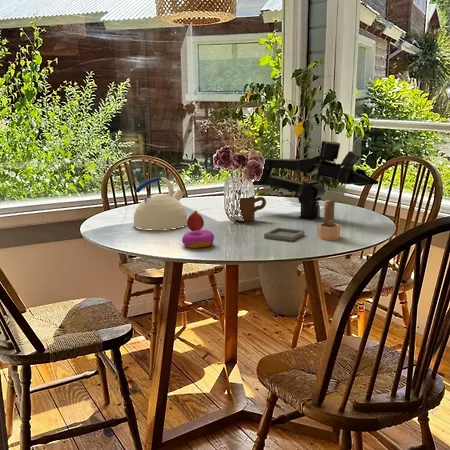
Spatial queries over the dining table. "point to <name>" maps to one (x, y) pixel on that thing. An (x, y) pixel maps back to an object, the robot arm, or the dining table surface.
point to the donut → (198, 239)
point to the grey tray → (284, 234)
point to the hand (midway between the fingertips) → (374, 181)
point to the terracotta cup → (328, 231)
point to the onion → (195, 221)
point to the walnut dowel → (329, 213)
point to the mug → (250, 207)
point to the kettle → (160, 209)
